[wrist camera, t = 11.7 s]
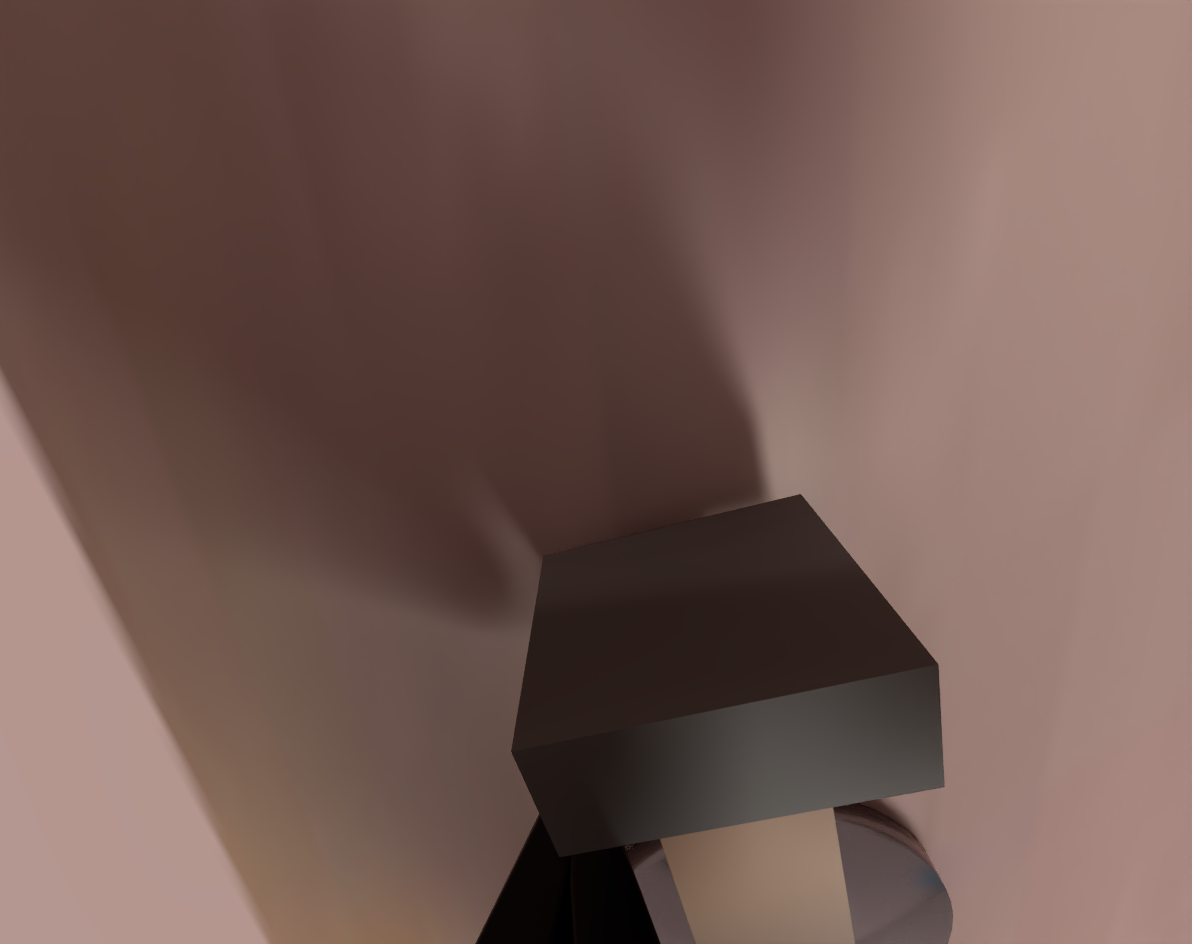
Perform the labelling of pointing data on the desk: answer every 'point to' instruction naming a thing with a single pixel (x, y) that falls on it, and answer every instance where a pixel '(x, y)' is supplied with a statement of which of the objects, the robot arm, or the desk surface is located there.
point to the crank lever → (725, 712)
